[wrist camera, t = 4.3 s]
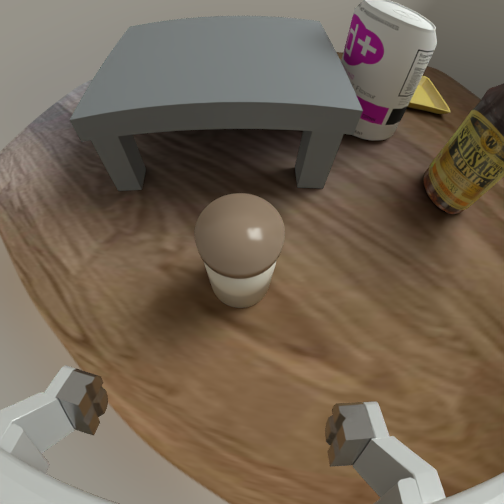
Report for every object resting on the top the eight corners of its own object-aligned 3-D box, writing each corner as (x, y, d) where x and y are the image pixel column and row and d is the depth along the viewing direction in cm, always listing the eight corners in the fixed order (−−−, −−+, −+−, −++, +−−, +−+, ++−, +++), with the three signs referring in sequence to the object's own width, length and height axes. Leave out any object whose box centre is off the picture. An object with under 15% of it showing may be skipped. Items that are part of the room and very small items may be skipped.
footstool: (306, 89, 33) (319, 21, 24) (328, 193, 26) (362, 110, 17) (145, 92, 32) (129, 26, 23) (112, 195, 26) (69, 119, 16)
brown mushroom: (269, 250, 24) (281, 193, 17) (272, 308, 22) (287, 273, 15) (210, 250, 24) (197, 193, 16) (208, 309, 22) (191, 273, 15)
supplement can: (340, 143, 29) (382, 19, 15) (320, 96, 32) (344, -12, 18) (403, 146, 30) (457, 43, 16) (377, 101, 33) (413, 6, 19)
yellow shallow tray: (446, 121, 33) (452, 112, 31) (399, 111, 33) (404, 100, 31) (423, 86, 37) (428, 77, 35) (378, 75, 36) (382, 65, 34)
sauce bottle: (410, 184, 27) (507, 29, 9) (435, 162, 29) (517, 32, 11) (452, 230, 25) (576, 97, 7) (472, 203, 27) (573, 86, 9)
